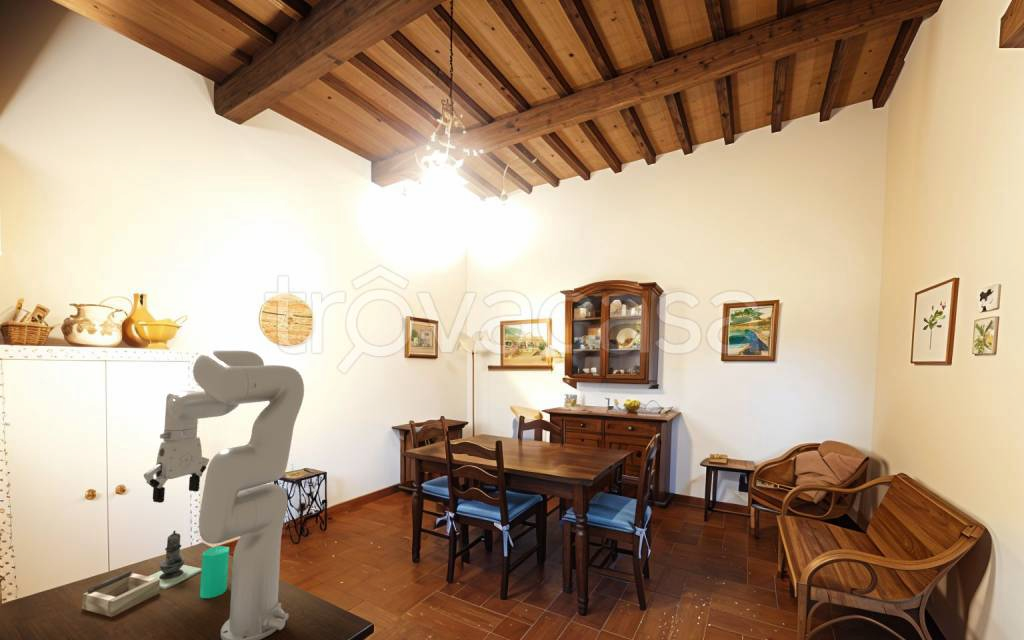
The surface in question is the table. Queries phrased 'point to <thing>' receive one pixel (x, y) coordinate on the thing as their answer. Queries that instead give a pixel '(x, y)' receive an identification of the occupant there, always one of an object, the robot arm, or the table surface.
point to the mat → (187, 573)
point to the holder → (104, 593)
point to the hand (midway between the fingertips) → (176, 496)
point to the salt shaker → (172, 558)
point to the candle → (214, 572)
